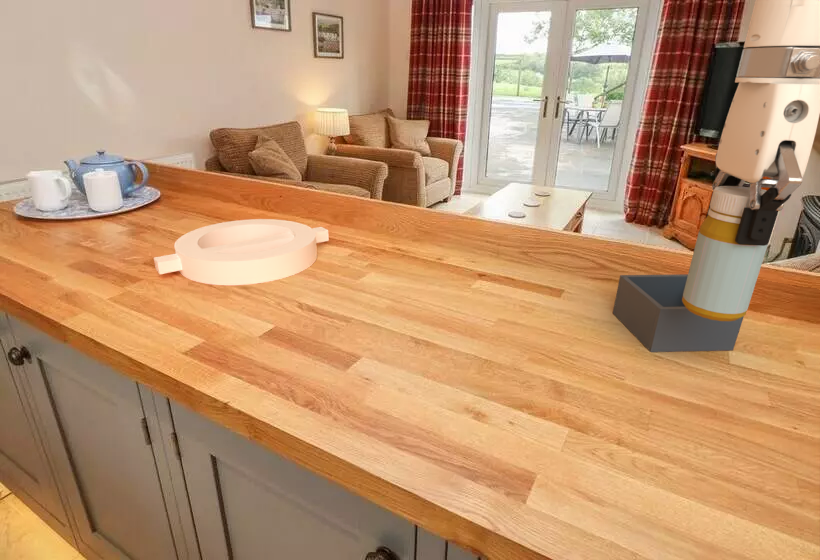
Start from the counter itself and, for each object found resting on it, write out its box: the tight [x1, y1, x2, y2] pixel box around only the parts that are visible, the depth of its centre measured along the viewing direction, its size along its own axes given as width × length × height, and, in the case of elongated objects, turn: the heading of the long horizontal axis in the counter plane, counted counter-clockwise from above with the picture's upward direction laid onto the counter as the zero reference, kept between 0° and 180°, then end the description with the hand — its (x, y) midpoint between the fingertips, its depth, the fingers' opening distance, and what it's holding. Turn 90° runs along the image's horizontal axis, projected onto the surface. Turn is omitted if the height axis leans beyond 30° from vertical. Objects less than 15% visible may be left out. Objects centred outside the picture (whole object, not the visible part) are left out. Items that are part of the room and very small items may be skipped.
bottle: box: [682, 186, 769, 321], centre depth 58 cm, size 7×7×15 cm
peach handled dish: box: [153, 218, 330, 286], centre depth 103 cm, size 28×28×5 cm
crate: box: [612, 273, 745, 353], centre depth 76 cm, size 13×13×7 cm
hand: (734, 232), depth 57 cm, fingers closed on bottle, 7 cm apart
